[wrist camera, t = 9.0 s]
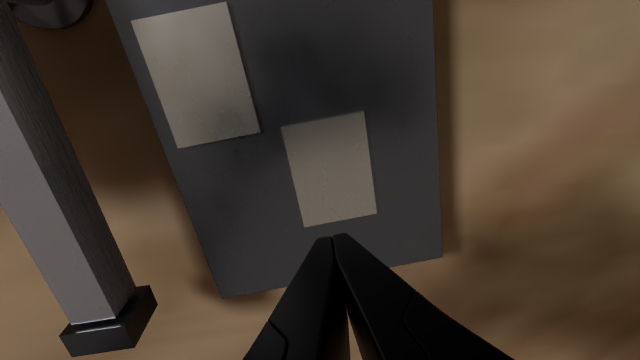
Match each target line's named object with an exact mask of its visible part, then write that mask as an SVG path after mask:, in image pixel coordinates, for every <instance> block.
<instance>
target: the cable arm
mask: <svg viewBox="0 0 640 360" xmlns="http://www.w3.org/2000/svg"><path fill="white" fill-rule="evenodd" d="M53 1H54V0H0V204H1V205H2V207H3V209H4V211H5V212H6V214H7V216H8V217H9V219H10V221H11V222H12V224H13V226H14V228H15V229H16V231H17V233H18V234H19V236H20V238H21V240H22V241H23V243H24V245H25V246H26V248H27V250H28V251H29V253H30V255H31V257H32V258H33V260H34V262H35V263H36V265H37V267H38V269H39V270H40V272H41V274H42V275H43V277H44V279H45V280H46V282H47V284H48V286H49V287H50V289H51V291H52V292H53V294H54V296H55V297H56V299H57V301H58V303H59V304H60V306H61V308H62V309H63V311H64V313H65V315H66V316H67V318H68V320H69V321H70V323H69V324H68V325H67V327H66V328H65V329H64V330H63V332H62V333H61V334H60V335H59V337H60V339H61V340H62V342H63V344H64V345H65V347H66V348H67V350H68V352H69V353H70V355H71V356H72V357H77V356H83V355H90V354H96V353H103V352H109V351H116V350H123V349H129V348H135V346H136V344H137V343H138V341H139V339H140V337H141V335H142V333H143V331H144V329H145V328H146V326H147V324H148V322H149V320H150V318H151V316H152V314H153V313H154V311H155V309H156V307H157V305H158V304H157V302H156V299H155V297H154V295H153V292H152V290H151V288H150V285H145V286H139V287H136V286H135V283H134V281H133V279H132V277H131V275H130V272H129V270H128V268H127V266H126V264H125V261H124V259H123V257H122V255H121V253H120V250H119V248H118V246H117V244H116V241H115V239H114V237H113V235H112V233H111V230H110V228H109V226H108V224H107V222H106V219H105V217H104V215H103V213H102V211H101V208H100V206H99V204H98V202H97V200H96V197H95V195H94V193H93V191H92V189H91V186H90V184H89V182H88V180H87V178H86V175H85V173H84V171H83V169H82V167H81V164H80V162H79V160H78V158H77V156H76V153H75V151H74V149H73V147H72V144H71V142H70V140H69V138H68V136H67V133H66V131H65V129H64V127H63V125H62V122H61V120H60V118H59V116H58V114H57V111H56V109H55V107H54V105H53V103H52V100H51V98H50V96H49V94H48V92H47V89H46V87H45V85H44V83H43V81H42V78H41V76H40V74H39V72H38V70H37V67H36V65H35V63H34V61H33V58H32V56H31V54H30V52H29V50H28V47H27V45H26V43H25V41H24V39H23V36H22V34H21V32H20V30H19V28H18V25H17V23H16V21H15V19H14V17H13V14H12V12H11V10H10V8H9V6H8V3H7V2H10V3H17V4H25V5H32V6H44V5H48V4H50V3H52V2H53Z"/></svg>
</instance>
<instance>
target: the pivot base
mask: <svg viewBox="0 0 640 360" xmlns="http://www.w3.org/2000/svg"><path fill="white" fill-rule="evenodd" d="M7 3H8V6H9V8H10V10H11V12H12V14H13V16H14V17H16V18H17V19H19V20H21V21H23V22H25V23H27V24H30V25H32V26H36V27H39V28H46V29H64V28H68V27H71V26H74V25H76V24H77V23H79V22H80V21H82V20H83V19H84V18H85V17H86V15H87V14H88V12H89V11H90V8H91V6H92V3H93V0H54V1H53V2H52V3H50V4H48V5H44V6H32V5H25V4H17V3H10V2H7Z"/></svg>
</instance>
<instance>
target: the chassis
mask: <svg viewBox="0 0 640 360" xmlns="http://www.w3.org/2000/svg"><path fill="white" fill-rule="evenodd" d="M105 1H106V4H107V6H108V9H109V11H110V14H111V16H112V19H113V22H114V24H115V27H116V29H117V32H118V34H119V37H120V39H121V42H122V45H123V47H124V50H125V52H126V55H127V57H128V60H129V62H130V65H131V68H132V70H133V73H134V75H135V78H136V80H137V83H138V85H139V88H140V91H141V93H142V96H143V98H144V101H145V103H146V106H147V108H148V111H149V114H150V116H151V119H152V121H153V124H154V126H155V129H156V131H157V134H158V137H159V139H160V142H161V144H162V147H163V149H164V152H165V154H166V157H167V160H168V162H169V165H170V167H171V170H172V172H173V175H174V177H175V180H176V183H177V185H178V188H179V190H180V193H181V195H182V198H183V201H184V203H185V206H186V208H187V211H188V213H189V216H190V218H191V221H192V224H193V226H194V229H195V231H196V234H197V236H198V239H199V241H200V244H201V247H202V249H203V252H204V254H205V257H206V259H207V262H208V264H209V267H210V270H211V272H212V275H213V277H214V280H215V282H216V285H217V287H218V290H219V293H220V295H221V298H222V299H224V298H230V297H235V296H240V295H246V294H251V293H256V292H261V291H267V290H272V289H277V288H282V287H288V286H289V284H290V282H291V281H292V279H293V277H294V276H295V274H296V272H297V271H298V269H299V267H300V266H301V264H302V262H303V261H304V259H305V257H306V256H307V254H308V252H309V251H310V249H311V247H312V246H313V244H314V242H315V241H316V239H317V238H320V237H325V236H331V237H332V236H333V235H334V234H339V233H344V232H346V233H348V234H349V235H350V236H351V237H353V238H354V239H355V240H356V241H357V242H359V243H360V244H361V245H362V246H363V247H365V248H366V249H367V250H368V251H369V252H371V253H372V254H373V255H374V256H375V257H376V258H378V259H379V260H380V261H381V262H382V263H384V264H385V265H386V266H387V267H393V266H398V265H404V264H409V263H414V262H419V261H425V260H430V259H435V258H441V257H443V251H442V226H441V201H440V176H439V151H438V126H437V101H436V75H435V50H434V25H433V0H105Z"/></svg>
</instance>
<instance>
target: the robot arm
mask: <svg viewBox="0 0 640 360" xmlns="http://www.w3.org/2000/svg"><path fill="white" fill-rule="evenodd" d="M346 307H347V309H346ZM347 312H348V315H347ZM348 316H349V319H350V323H351V326H352V329H353V332H354V335H355V338H356V341H357V344H358V347H359V350H360V353H361V356H362V359H363V360H514V359H513V358H511V357H510V356H508V355H507V354H505V353H504V352H502V351H500V350H499V349H497V348H496V347H494V346H493V345H491V344H490V343H488V342H487V341H485V340H484V339H482V338H481V337H479V336H478V335H476V334H474V333H473V332H471V331H470V330H468V329H467V328H465V327H464V326H462V325H461V324H459V323H458V322H457V321H455V320H454V319H452V318H451V317H449V316H448V315H446V314H445V313H444V312H442V311H441V310H440V309H438V308H437V307H436V306H435V305H433V304H432V303H431V302H429V301H428V300H427V299H426V298H425V297H423V296H422V295H421V294H420V293H419V292H416V290H415V289H414V288H412V287H411V286H410V285H409V284H408V283H406V282H405V281H404V280H403V279H402V278H400V277H399V276H398V275H397V274H396V273H394V272H393V271H392V270H391V269H390V268H388V267H387V266H386V265H385V264H384V263H382V262H381V261H380V260H379V259H378V258H376V257H375V256H374V255H373V254H372V253H371V252H369V251H368V250H367V249H366V248H365V247H363V246H362V245H361V244H360V243H359V242H357V241H356V240H355V239H354V238H353V237H351V236H350V235H349V234H348V233H346V232H344V233H339V234H334V235H333V236H332V237H331V236H325V237H320V238H317V239H316V241H315V242H314V244H313V246H312V247H311V249H310V251H309V252H308V254H307V256H306V257H305V259H304V261H303V262H302V264H301V266H300V267H299V269H298V271H297V272H296V274H295V276H294V277H293V279H292V281H291V282H290V284H289V286H288V287H287V289H286V291H285V292H284V294H283V296H282V297H281V299H280V301H279V302H278V304H277V306H276V307H275V309H274V311H273V312H272V314H271V316H270V317H269V319H268V322H266V324H265V326H264V327H263V329H262V331H261V332H260V334H259V335H258V337H257V339H256V340H255V342H254V343H253V345H252V346H251V348H250V350H249V351H248V353H247V354H246V355H245V357H244V358H243V360H350V344H349V327H348Z"/></svg>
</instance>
